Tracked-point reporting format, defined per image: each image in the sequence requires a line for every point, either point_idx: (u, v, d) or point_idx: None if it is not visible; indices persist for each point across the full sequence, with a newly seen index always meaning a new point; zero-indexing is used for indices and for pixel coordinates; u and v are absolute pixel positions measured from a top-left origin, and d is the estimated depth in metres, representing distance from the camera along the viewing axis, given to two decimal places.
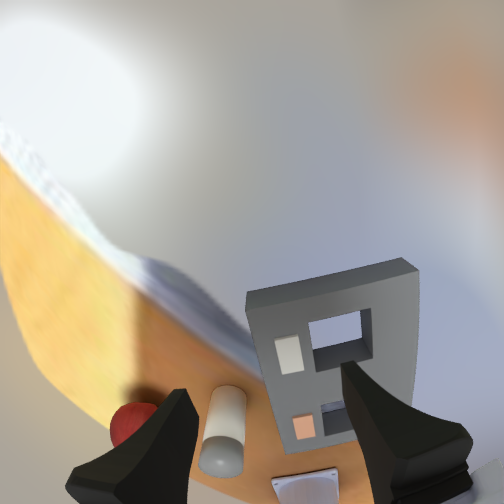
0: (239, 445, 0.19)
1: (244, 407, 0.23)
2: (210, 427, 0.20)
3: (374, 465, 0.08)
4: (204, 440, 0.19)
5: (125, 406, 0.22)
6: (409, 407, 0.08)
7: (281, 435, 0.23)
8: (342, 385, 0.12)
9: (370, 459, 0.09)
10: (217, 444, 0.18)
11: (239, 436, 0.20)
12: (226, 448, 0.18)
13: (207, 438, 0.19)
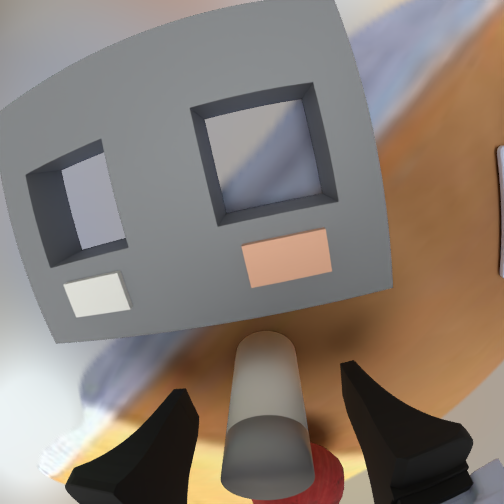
0: (243, 426, 0.09)
1: (253, 352, 0.14)
2: None
3: (374, 465, 0.08)
4: None
5: None
6: (409, 407, 0.08)
7: (318, 302, 0.12)
8: (342, 385, 0.12)
9: (370, 459, 0.09)
10: None
11: (242, 411, 0.10)
12: (224, 456, 0.09)
13: None
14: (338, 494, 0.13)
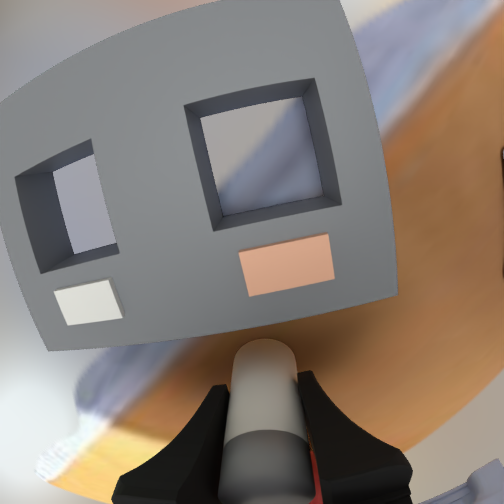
0: (240, 441, 0.09)
1: (252, 361, 0.13)
2: None
3: None
4: None
5: None
6: (352, 424, 0.08)
7: (319, 311, 0.11)
8: None
9: None
10: None
11: (240, 424, 0.10)
12: (221, 472, 0.08)
13: None
14: None
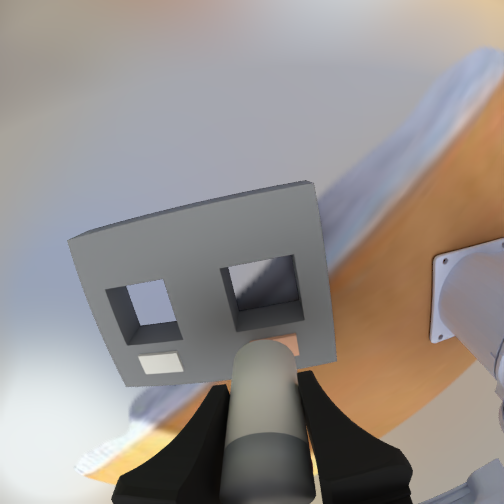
0: (242, 444, 0.09)
1: (252, 363, 0.13)
2: None
3: None
4: None
5: None
6: (352, 424, 0.08)
7: None
8: None
9: None
10: None
11: (241, 426, 0.10)
12: (222, 473, 0.08)
13: None
14: None
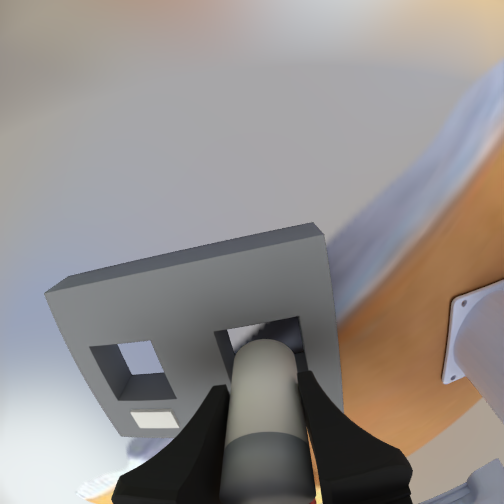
0: (242, 443, 0.09)
1: (252, 362, 0.13)
2: None
3: None
4: None
5: None
6: (352, 424, 0.08)
7: None
8: None
9: None
10: None
11: (241, 426, 0.10)
12: (222, 473, 0.08)
13: None
14: None
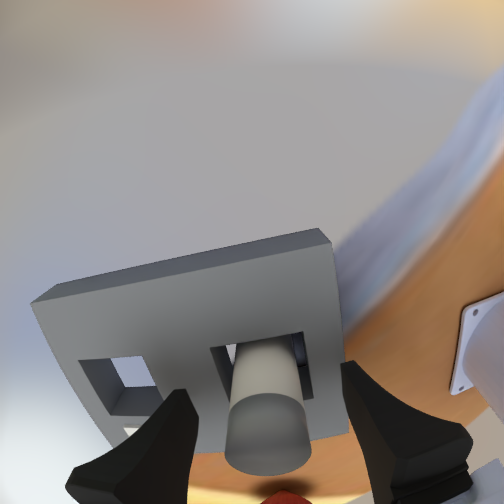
0: (245, 403, 0.11)
1: None
2: None
3: (374, 465, 0.08)
4: None
5: None
6: (409, 407, 0.08)
7: None
8: (342, 385, 0.12)
9: (370, 459, 0.09)
10: None
11: (244, 390, 0.11)
12: (227, 432, 0.10)
13: None
14: None
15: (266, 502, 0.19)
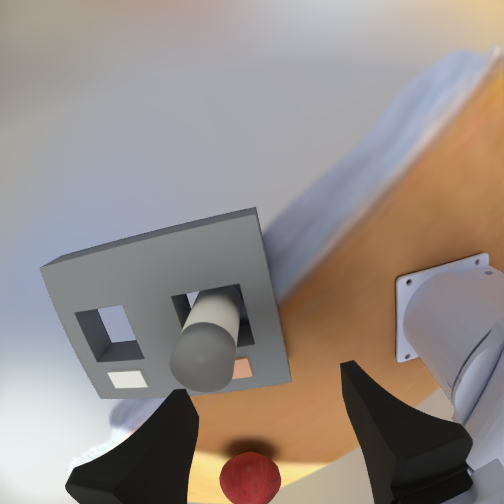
0: (187, 329, 0.15)
1: (206, 292, 0.20)
2: None
3: (374, 465, 0.08)
4: None
5: None
6: (409, 407, 0.08)
7: (247, 388, 0.20)
8: (342, 385, 0.12)
9: (370, 459, 0.09)
10: None
11: (189, 322, 0.16)
12: None
13: None
14: (274, 488, 0.21)
15: (232, 458, 0.24)
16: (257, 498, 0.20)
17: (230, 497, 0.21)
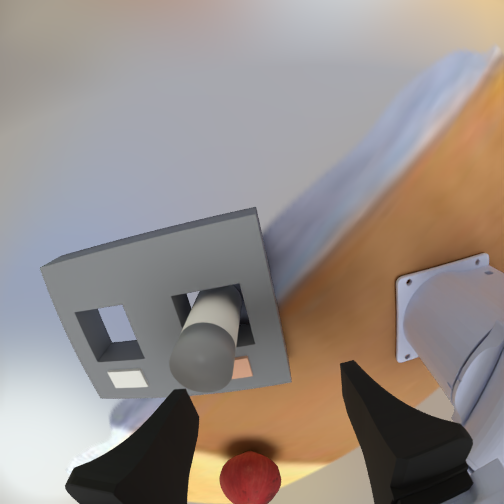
0: (187, 329, 0.15)
1: (206, 292, 0.20)
2: None
3: (374, 465, 0.08)
4: None
5: None
6: (409, 407, 0.08)
7: (247, 387, 0.20)
8: (342, 385, 0.12)
9: (370, 459, 0.09)
10: None
11: (189, 322, 0.16)
12: None
13: None
14: (274, 488, 0.21)
15: (232, 458, 0.24)
16: (257, 498, 0.20)
17: (230, 497, 0.21)
